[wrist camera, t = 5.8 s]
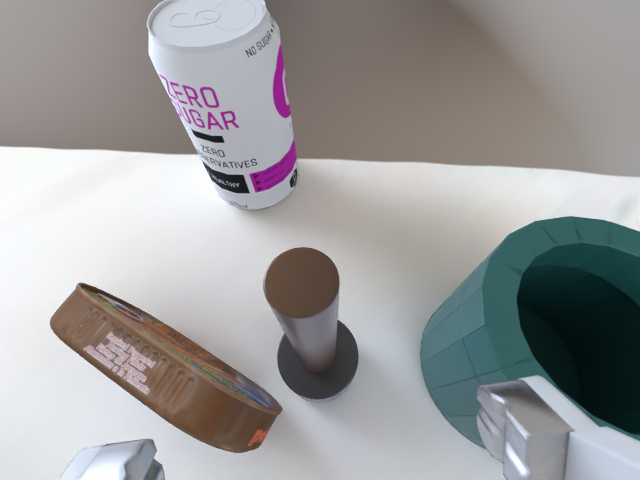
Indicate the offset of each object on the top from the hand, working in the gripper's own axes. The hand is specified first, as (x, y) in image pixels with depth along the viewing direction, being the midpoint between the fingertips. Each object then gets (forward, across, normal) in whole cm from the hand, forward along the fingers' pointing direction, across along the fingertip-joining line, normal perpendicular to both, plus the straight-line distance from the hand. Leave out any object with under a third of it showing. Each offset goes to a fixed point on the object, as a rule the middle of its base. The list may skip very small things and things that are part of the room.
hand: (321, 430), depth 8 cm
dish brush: (+13, 0, +8) cm, 16 cm away
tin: (+14, +9, +8) cm, 19 cm away
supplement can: (+26, +4, -4) cm, 27 cm away
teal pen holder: (+12, -12, +10) cm, 20 cm away
